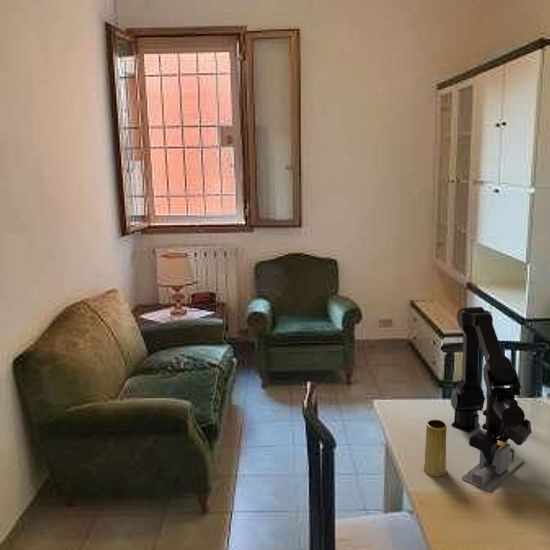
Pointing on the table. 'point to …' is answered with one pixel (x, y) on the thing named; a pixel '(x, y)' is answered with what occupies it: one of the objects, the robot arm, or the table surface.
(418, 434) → the table surface
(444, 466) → the vase
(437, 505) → the table surface
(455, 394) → the robot arm
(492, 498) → the table surface
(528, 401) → the table surface
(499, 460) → the grey slider block
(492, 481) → the rail
